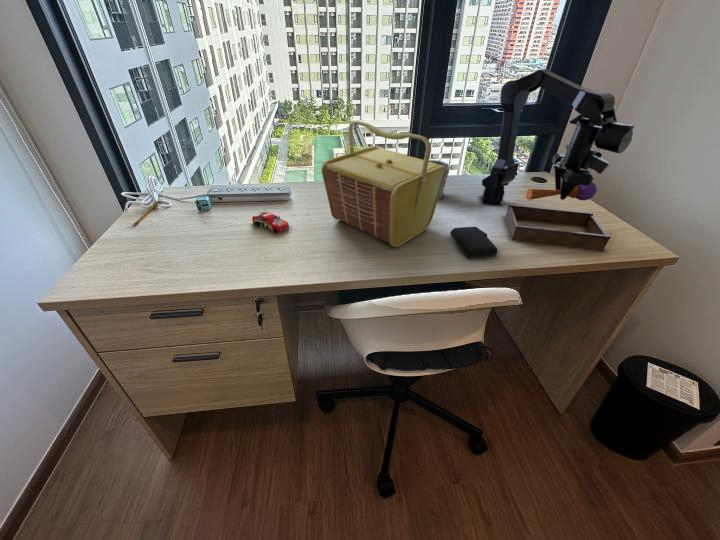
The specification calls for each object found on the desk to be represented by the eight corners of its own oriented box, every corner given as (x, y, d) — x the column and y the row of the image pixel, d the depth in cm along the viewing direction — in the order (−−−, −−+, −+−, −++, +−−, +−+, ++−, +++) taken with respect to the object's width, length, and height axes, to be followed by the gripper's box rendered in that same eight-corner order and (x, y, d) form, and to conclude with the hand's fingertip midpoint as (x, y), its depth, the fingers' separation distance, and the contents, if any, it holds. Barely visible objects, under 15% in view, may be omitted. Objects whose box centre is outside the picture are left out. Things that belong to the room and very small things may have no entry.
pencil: (135, 227, 104) (134, 225, 104) (132, 227, 104) (131, 225, 104) (160, 201, 119) (159, 199, 119) (158, 201, 119) (157, 199, 119)
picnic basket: (440, 226, 108) (458, 129, 90) (391, 258, 92) (400, 149, 74) (373, 199, 123) (377, 112, 106) (321, 223, 108) (315, 125, 90)
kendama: (525, 182, 102) (590, 178, 102) (522, 201, 105) (585, 197, 105) (535, 186, 97) (603, 181, 97) (532, 206, 99) (598, 201, 99)
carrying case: (502, 258, 93) (479, 232, 105) (505, 249, 91) (481, 223, 103) (466, 261, 92) (447, 234, 103) (469, 252, 90) (449, 225, 102)
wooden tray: (511, 240, 101) (516, 226, 98) (504, 217, 114) (508, 203, 111) (603, 251, 97) (611, 237, 94) (586, 226, 109) (592, 212, 106)
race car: (292, 229, 105) (291, 218, 102) (280, 236, 101) (279, 225, 99) (263, 218, 110) (261, 207, 108) (250, 224, 107) (248, 213, 104)
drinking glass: (412, 192, 129) (416, 162, 122) (433, 188, 133) (438, 158, 126) (428, 202, 122) (433, 171, 115) (450, 197, 126) (456, 166, 119)
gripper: (627, 156, 84) (598, 212, 93) (601, 137, 98) (579, 186, 107) (579, 152, 85) (556, 207, 95) (561, 133, 100) (542, 183, 109)
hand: (559, 195), depth 102 cm, fingers closed on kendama, 5 cm apart
